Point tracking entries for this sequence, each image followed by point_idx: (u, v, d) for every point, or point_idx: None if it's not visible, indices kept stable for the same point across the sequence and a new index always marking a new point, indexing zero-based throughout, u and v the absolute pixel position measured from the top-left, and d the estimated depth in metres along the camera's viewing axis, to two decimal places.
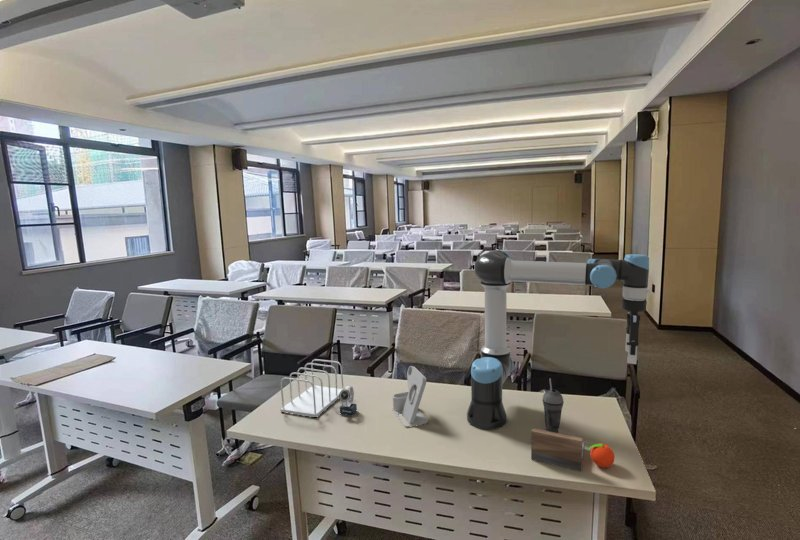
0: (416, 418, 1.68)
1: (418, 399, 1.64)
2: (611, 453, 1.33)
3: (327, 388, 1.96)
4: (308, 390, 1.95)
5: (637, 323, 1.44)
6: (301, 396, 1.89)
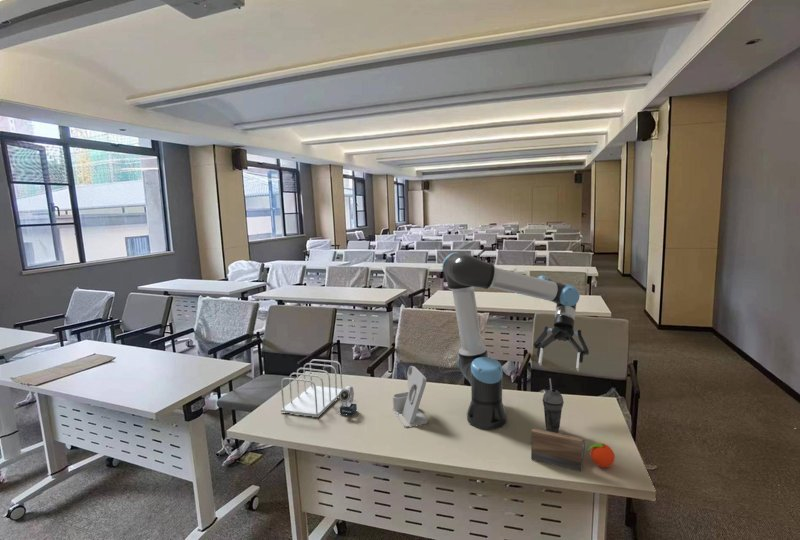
0: (416, 418, 1.68)
1: (418, 399, 1.64)
2: (611, 453, 1.33)
3: (326, 388, 1.97)
4: (307, 390, 1.95)
5: None
6: (300, 396, 1.89)
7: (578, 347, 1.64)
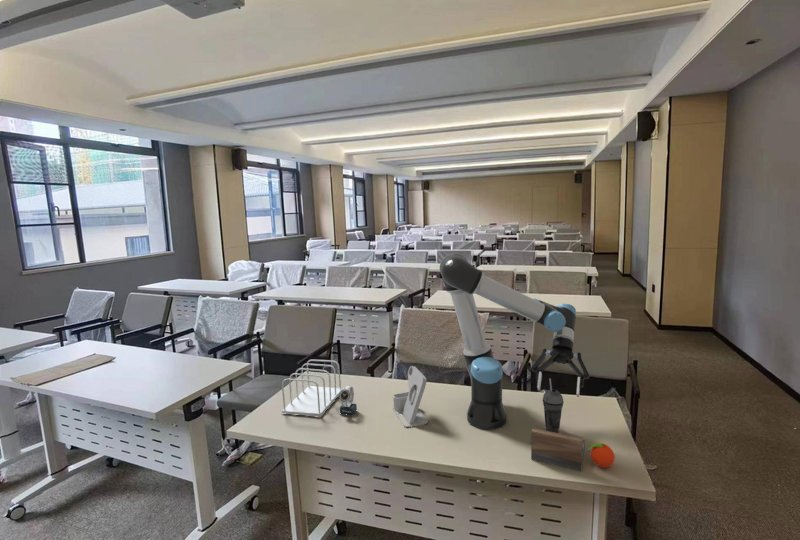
0: (416, 418, 1.68)
1: (418, 399, 1.64)
2: (611, 453, 1.33)
3: (324, 388, 1.97)
4: (305, 391, 1.94)
5: None
6: (299, 397, 1.88)
7: (578, 371, 1.58)
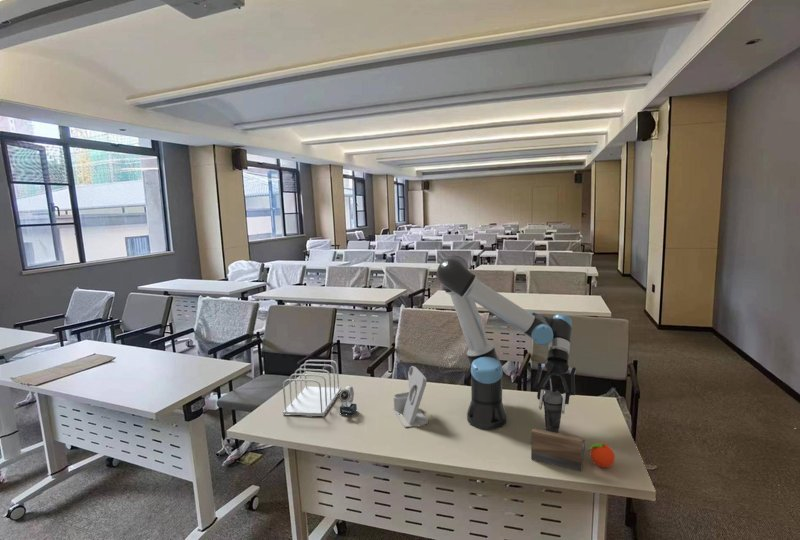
0: (416, 418, 1.68)
1: (418, 399, 1.64)
2: (611, 453, 1.33)
3: (321, 388, 1.97)
4: (303, 391, 1.94)
5: (574, 376, 1.58)
6: (298, 398, 1.88)
7: (566, 387, 1.55)
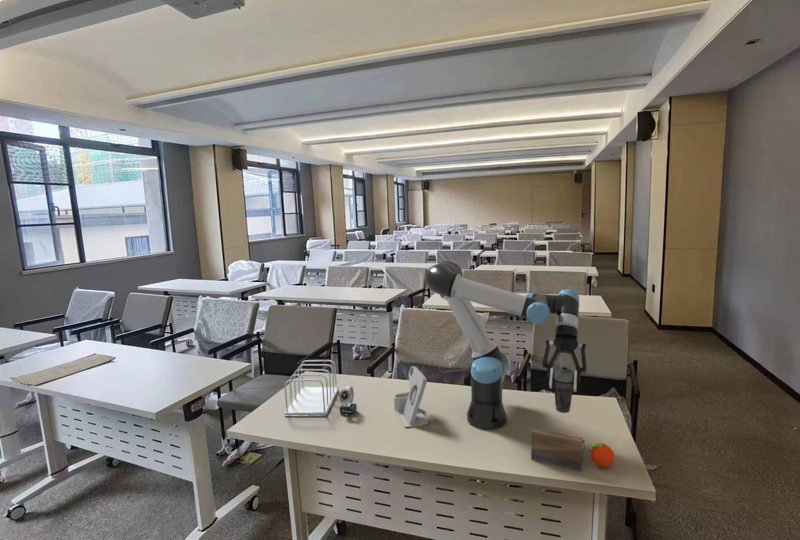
0: (416, 419, 1.68)
1: (418, 400, 1.63)
2: (611, 453, 1.33)
3: (319, 388, 1.97)
4: (300, 392, 1.93)
5: None
6: (297, 398, 1.87)
7: (576, 364, 1.48)
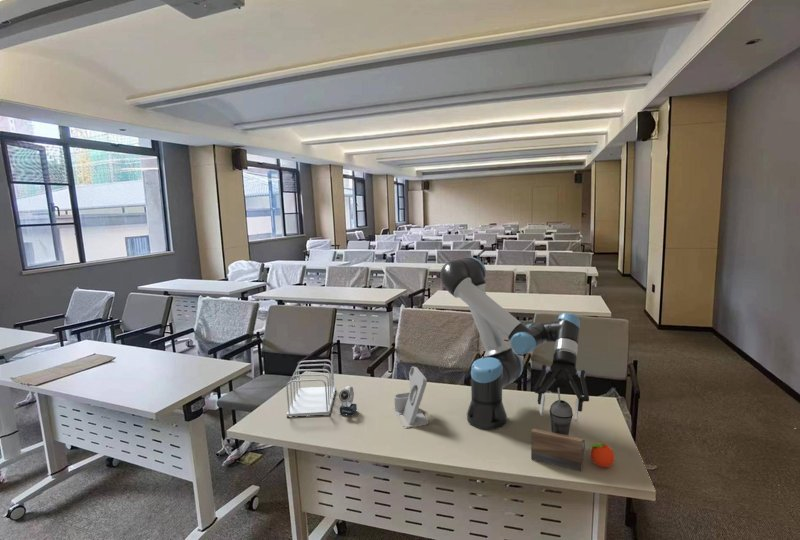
0: (417, 419, 1.68)
1: (418, 400, 1.63)
2: (611, 453, 1.33)
3: (316, 388, 1.97)
4: (298, 393, 1.92)
5: None
6: (296, 399, 1.86)
7: (578, 392, 1.39)
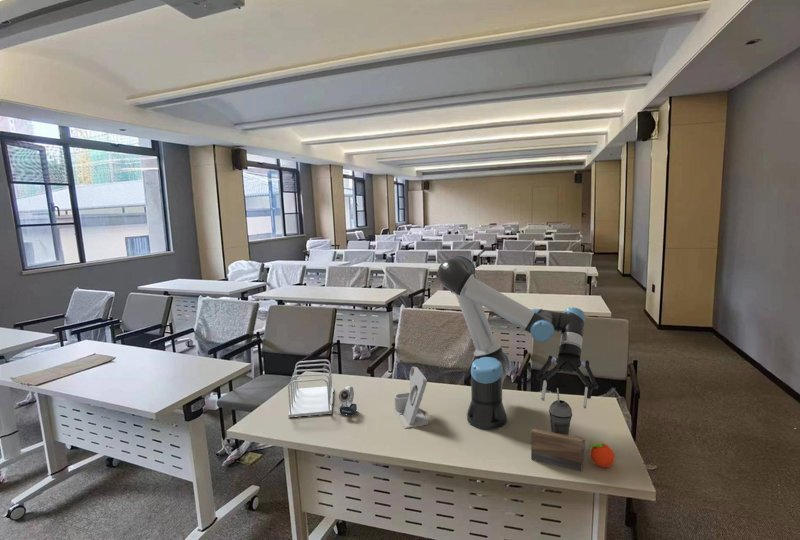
0: (417, 419, 1.67)
1: (418, 400, 1.63)
2: (611, 453, 1.33)
3: (314, 388, 1.97)
4: (296, 394, 1.92)
5: None
6: (296, 400, 1.85)
7: (586, 381, 1.47)
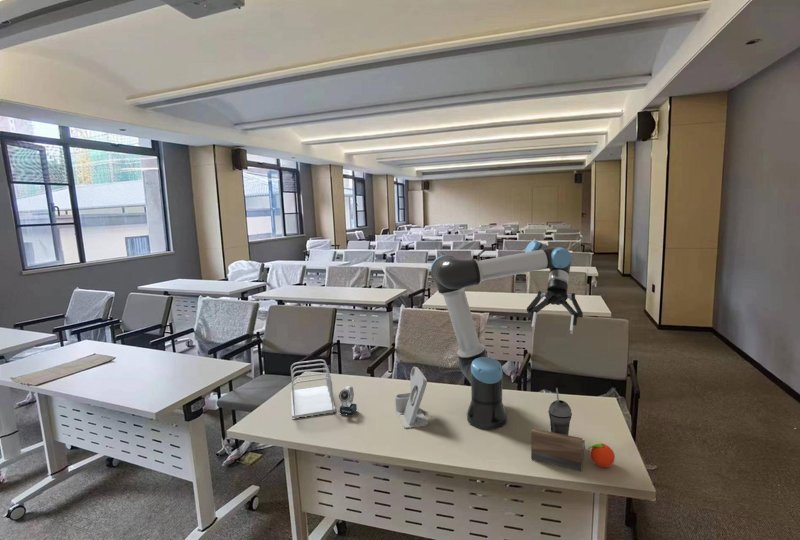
0: (417, 419, 1.67)
1: (418, 400, 1.63)
2: (611, 453, 1.33)
3: (310, 389, 1.96)
4: (294, 395, 1.90)
5: None
6: (295, 401, 1.84)
7: (572, 310, 1.61)
